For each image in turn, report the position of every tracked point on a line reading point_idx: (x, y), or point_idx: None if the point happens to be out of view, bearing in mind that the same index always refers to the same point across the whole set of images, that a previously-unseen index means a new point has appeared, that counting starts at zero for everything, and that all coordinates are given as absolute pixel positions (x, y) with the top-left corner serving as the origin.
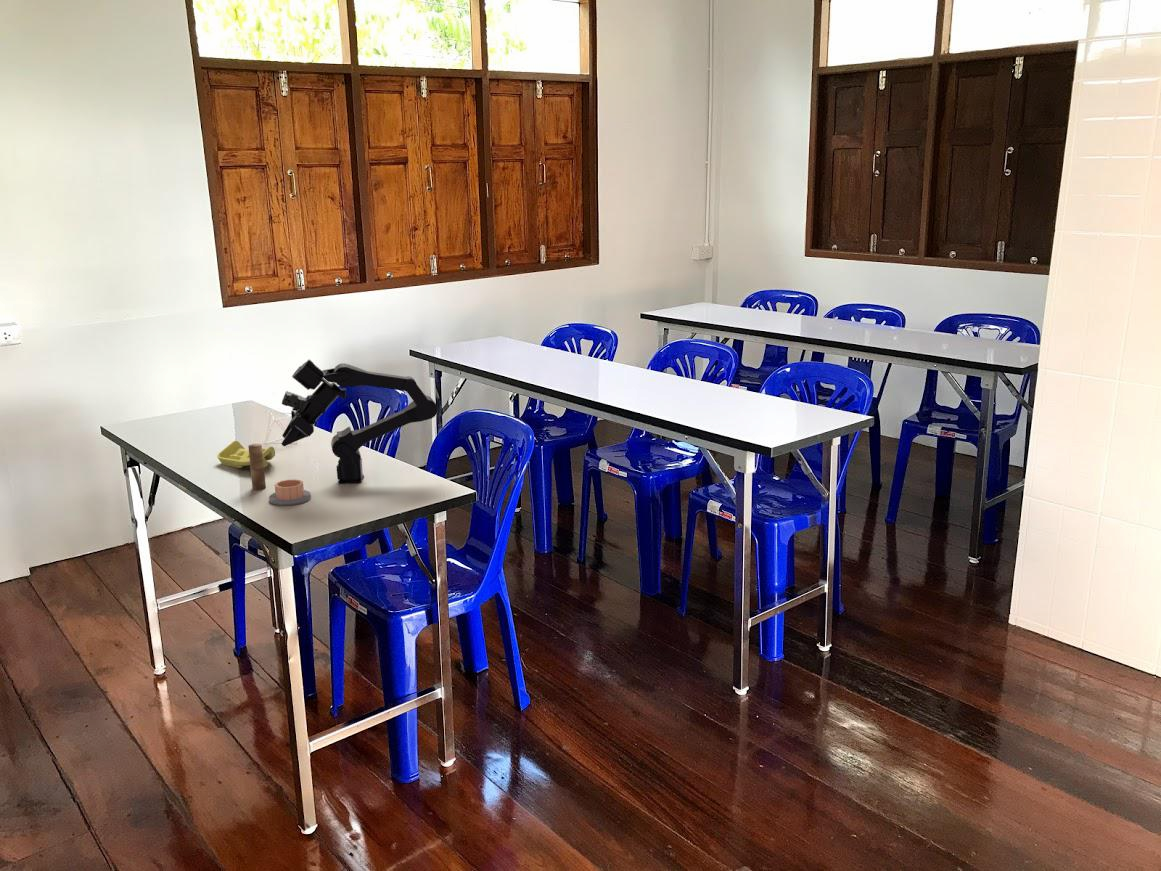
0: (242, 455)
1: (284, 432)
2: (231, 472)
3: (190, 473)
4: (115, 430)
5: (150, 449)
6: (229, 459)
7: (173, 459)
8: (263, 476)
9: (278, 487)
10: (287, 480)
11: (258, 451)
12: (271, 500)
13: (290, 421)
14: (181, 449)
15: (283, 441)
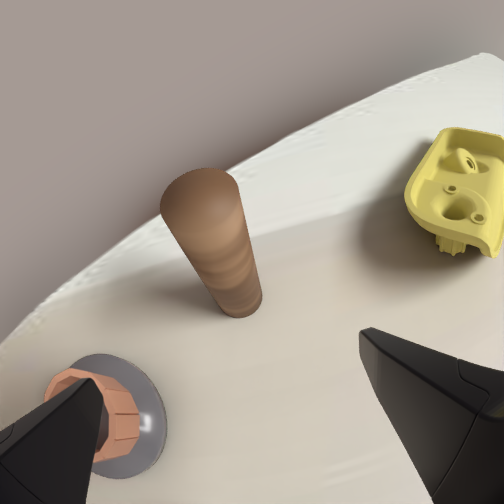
0: (474, 173)
1: (372, 347)
2: (395, 178)
3: (367, 112)
4: (487, 55)
5: (457, 70)
6: (429, 151)
7: (433, 87)
8: (221, 302)
9: (52, 381)
10: (108, 411)
11: (175, 237)
12: (73, 364)
13: (486, 386)
14: (478, 94)
15: (64, 392)
